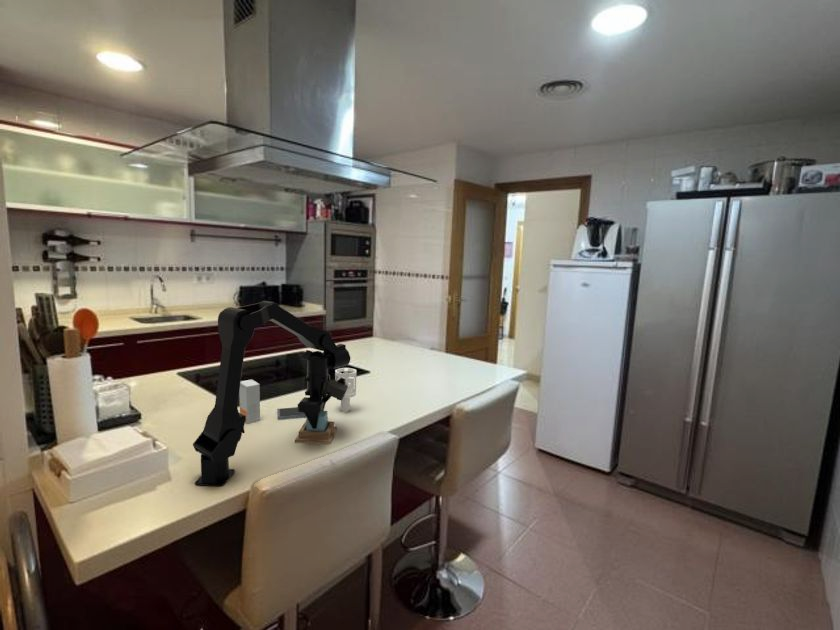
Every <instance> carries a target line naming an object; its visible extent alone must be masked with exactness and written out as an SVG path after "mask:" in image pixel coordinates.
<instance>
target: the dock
mask: <svg viewBox="0 0 840 630" xmlns="http://www.w3.org/2000/svg"><path fill="white" fill-rule="evenodd" d="M335 424H336V423H335V421H329V420H327V430H326V431H306V421H304V423H303V425H302V426H301V428H300V429H299V430H298V433H297V434H298V435H297V436H296V437H295V439H294V443H295V444H297V443H298V444H317V445H331V444H332V441H333V439H334V438H335V435H336V433H337V431H338V426H335Z"/></svg>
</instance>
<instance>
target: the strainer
mask: <svg viewBox="0 0 840 630" xmlns="http://www.w3.org/2000/svg"><path fill="white" fill-rule="evenodd" d="M334 371H335V372H334V381H335V380H336V381H337V380H339V379H340V378H344V379H345V380H346V384H347V386H348V388H347V391H346V393H345V396H344V398H343V400H340V412H343V413H346V412H349V411H351V409H350V408H351V407H350V406H351V405H350V404H351V398H355V396H356V395H357V369H355V368H351V367H339V368H336V369H335V370H334ZM342 372H343V373H342Z"/></svg>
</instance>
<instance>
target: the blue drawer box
mask: <svg viewBox="0 0 840 630" xmlns="http://www.w3.org/2000/svg"><path fill="white" fill-rule="evenodd" d="M327 417H328V410H324V411H321V412H320V413H319V418H318V424H317V428H316V429H313V428H312V426H311V425H310V423H309V421H308V419H307V417H305V418H306V420H305V422H306V431H326V430H327V421H328V418H327Z"/></svg>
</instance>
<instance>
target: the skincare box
mask: <svg viewBox="0 0 840 630" xmlns="http://www.w3.org/2000/svg"><path fill="white" fill-rule="evenodd" d="M260 385H261V384H260V383H258V382H257V381H255V380H254V379H248V380H241V383H240V391H239V413H240V414H243V415H245V416H246V420H245V424H251V423H255V422H259V421H261V404H260V403H261V397H260V396H261V390H260V389H261V388H260Z"/></svg>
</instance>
